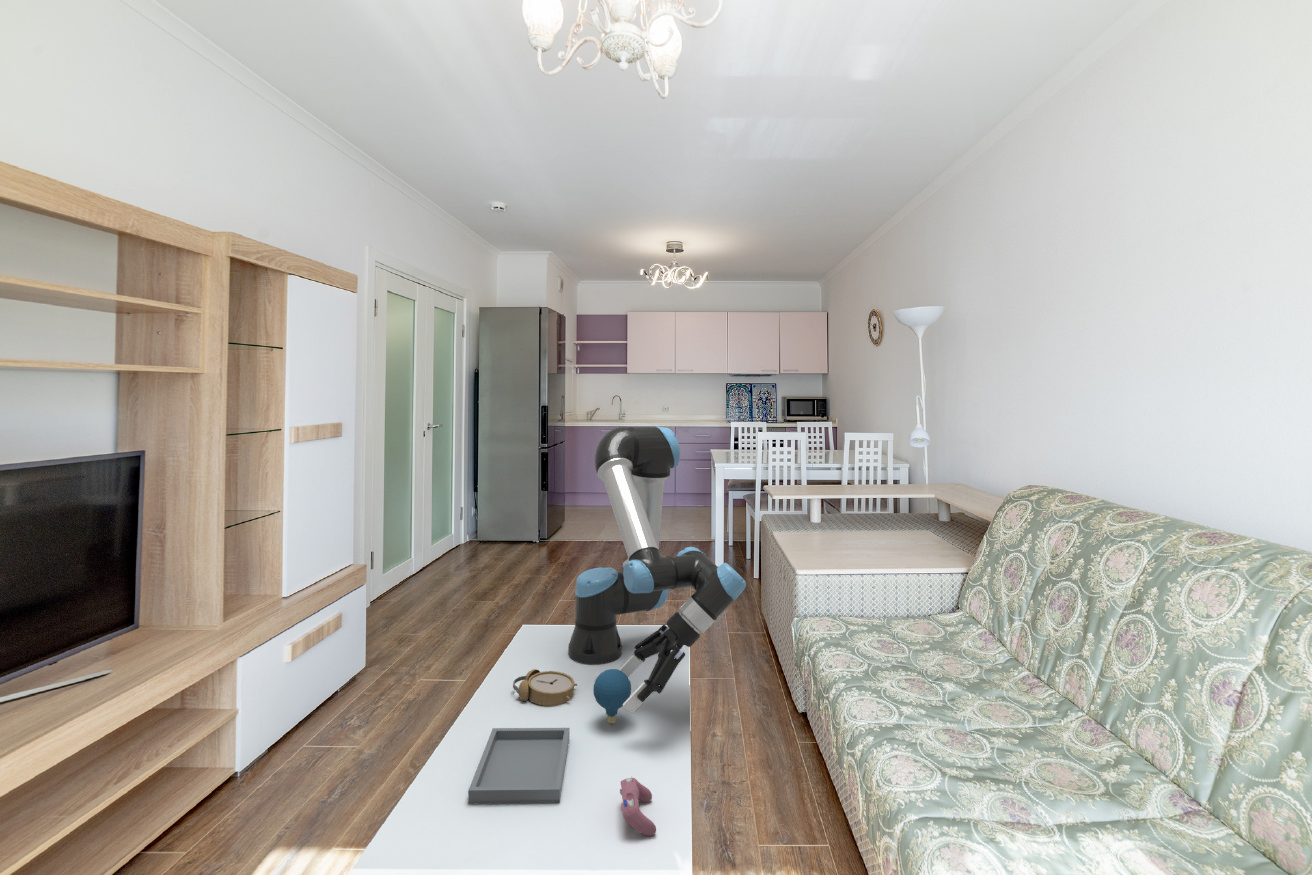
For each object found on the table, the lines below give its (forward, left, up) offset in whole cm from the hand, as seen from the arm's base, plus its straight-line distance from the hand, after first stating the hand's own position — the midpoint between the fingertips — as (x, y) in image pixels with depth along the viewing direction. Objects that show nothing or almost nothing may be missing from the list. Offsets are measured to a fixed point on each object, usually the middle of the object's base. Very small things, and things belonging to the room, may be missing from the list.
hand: (622, 693), depth 132 cm
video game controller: (+13, +26, -8) cm, 30 cm away
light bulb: (+1, -2, -7) cm, 8 cm away
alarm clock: (+9, -22, -8) cm, 25 cm away
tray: (+24, +3, -7) cm, 25 cm away
